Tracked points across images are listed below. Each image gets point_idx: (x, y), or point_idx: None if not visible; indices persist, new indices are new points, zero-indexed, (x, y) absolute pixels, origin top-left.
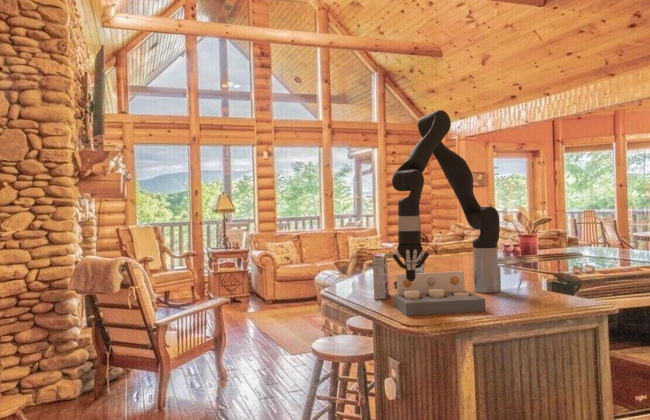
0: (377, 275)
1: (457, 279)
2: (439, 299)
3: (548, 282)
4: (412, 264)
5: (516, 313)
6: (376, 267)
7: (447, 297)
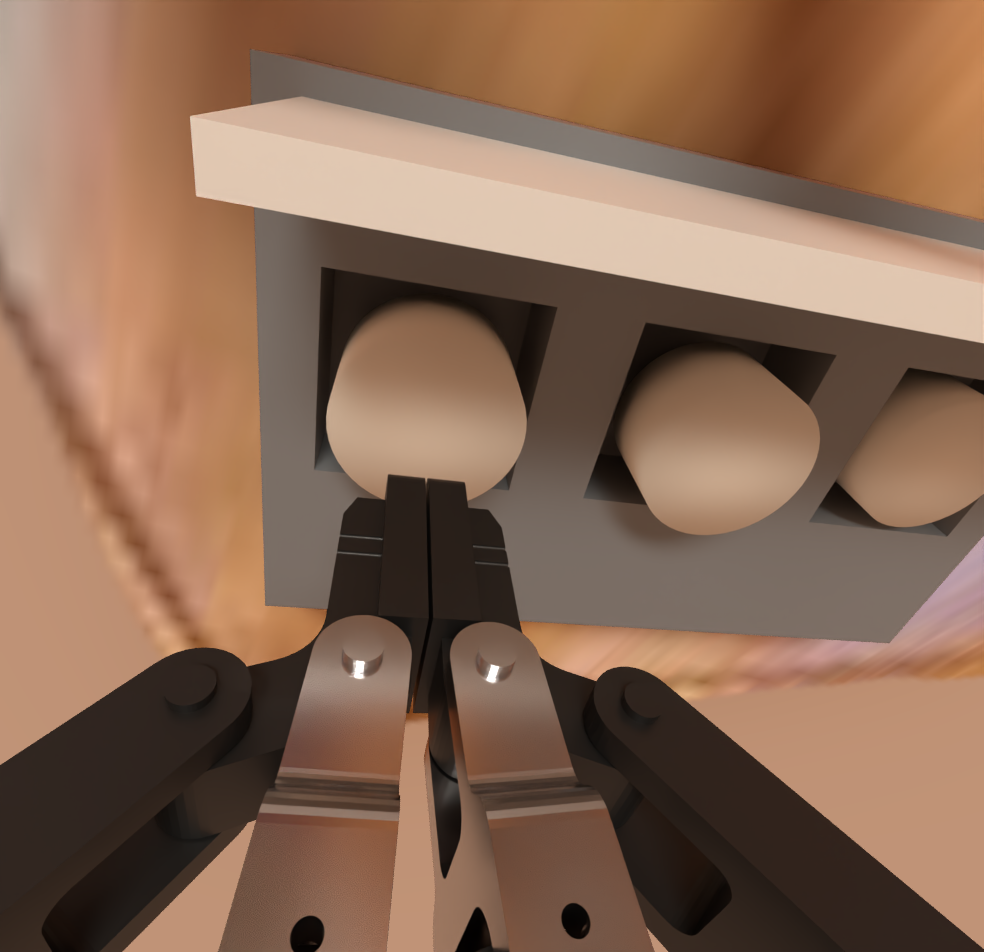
0: None
1: None
2: (609, 569)
3: None
4: (438, 854)
5: (906, 650)
6: None
7: None
